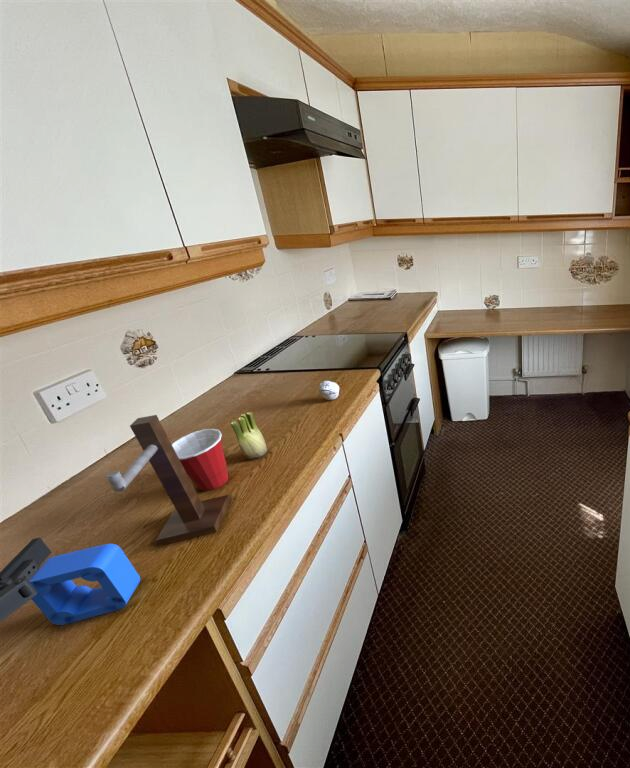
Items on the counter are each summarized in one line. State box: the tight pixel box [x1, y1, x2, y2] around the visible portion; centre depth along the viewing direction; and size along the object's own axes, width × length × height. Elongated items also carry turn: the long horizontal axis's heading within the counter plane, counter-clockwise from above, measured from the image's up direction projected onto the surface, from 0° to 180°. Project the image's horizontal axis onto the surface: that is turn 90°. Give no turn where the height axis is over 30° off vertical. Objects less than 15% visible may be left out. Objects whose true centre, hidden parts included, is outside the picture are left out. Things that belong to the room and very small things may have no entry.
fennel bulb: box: [230, 411, 268, 460], centre depth 104 cm, size 6×5×12 cm
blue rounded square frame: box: [29, 543, 141, 626], centre depth 66 cm, size 5×10×10 cm, turn 108°
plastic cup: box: [171, 428, 229, 492], centre depth 94 cm, size 11×11×12 cm
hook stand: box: [105, 414, 231, 547], centre depth 76 cm, size 19×10×25 cm, turn 18°
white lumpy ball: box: [318, 380, 340, 401], centre depth 132 cm, size 6×7×7 cm
